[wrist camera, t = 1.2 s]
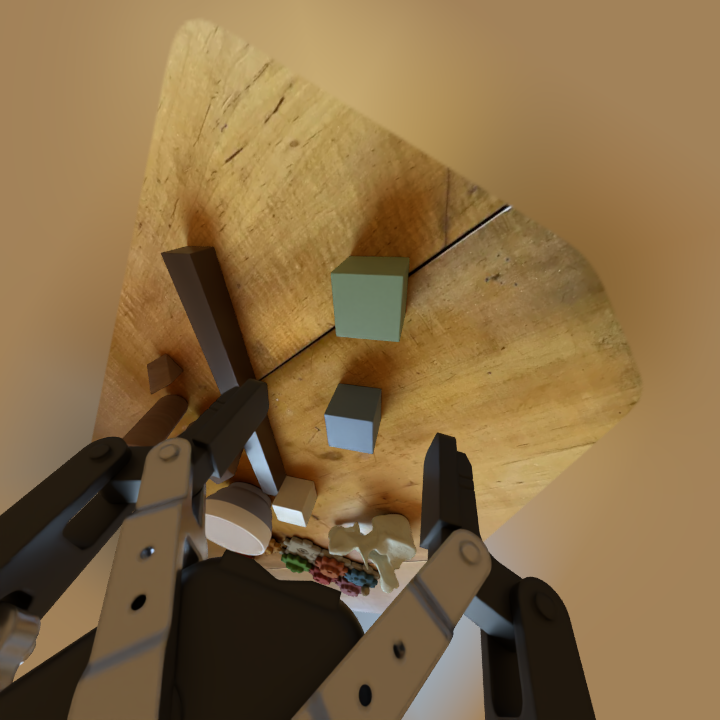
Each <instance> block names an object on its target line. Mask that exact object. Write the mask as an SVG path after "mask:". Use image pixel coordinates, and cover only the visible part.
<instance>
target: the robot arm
mask: <svg viewBox="0 0 720 720" xmlns="http://www.w3.org/2000/svg"><path fill="white" fill-rule="evenodd" d="M268 409H269V400H268V389H267V384H266V383H265V382H262V381H258V380H255V379H248V380H247V381H246V382H245V383H244V384H243V385H242V386H241V387H237V386H235V387H233V388H231V389H229V390H227V391H226V392H224V393H223V394H222V395H221V396H220V397H219V398H218V399H217V400H216V402H214V403H213V404H212V405H211V406H210V407H209V409H207V410H206V411H205V412H204V413H203V414H202V415H201V416H200V417H199V418H198V419H197V420H196V421H195V422H194V423H193V424H192V425H191V426H190V427H189V428H188V429H187V430H186V431H185V432H184V433H183V434H182V435H181V436H179V437H178V438H170V439H167V440H164V441H162V442H160V443H159V444H157V445H156V446H128V445H127V443H126V442H125V441H124V440H123V439H122V438H119V437H107V438H103V439H99V440H97V441H94V442H92V443H91V444H89V445H87V446H86V447H84V448H83V449H82V450H81V451H79V452H78V453H77V454H76V455H75V456H73V457H72V458H71V459H70V460H68V461H67V462H66V463H65V464H64V465H62V466H61V467H60V468H59V469H57V470H56V471H55V472H54V473H52V474H51V475H50V476H49V477H48V478H46V479H45V480H44V481H42V482H41V483H40V484H39V485H37V486H36V487H35V488H34V489H33V490H31V491H30V492H29V493H28V494H26V495H25V496H24V497H23V498H21V499H20V500H19V501H18V502H17V503H15V504H14V505H13V506H12V507H10V508H9V509H8V510H7V511H5V512H4V513H3V514H2V515H1V516H0V720H401V719H402V717H403V716H404V714H405V713H406V711H407V710H408V708H409V707H410V705H411V703H412V702H413V700H414V699H415V697H416V696H417V694H418V692H419V691H420V689H421V688H422V686H423V684H424V683H425V681H426V680H427V678H428V677H429V675H430V674H431V672H432V670H433V669H434V667H435V666H436V664H437V662H438V661H439V659H440V658H441V656H442V655H443V653H444V651H445V650H446V648H447V647H448V645H449V643H450V641H451V639H452V637H453V630H454V628H455V626H456V625H457V623H458V621H459V620H460V618H461V617H462V615H463V614H464V615H465V616H467V617H468V618H469V619H470V620H472V621H473V622H474V623H475V624H476V625H478V626H479V627H480V629H481V648H482V668H483V687H484V705H485V706H484V707H485V720H596V718H595V714H594V710H593V707H592V703H591V699H590V695H589V691H588V687H587V683H586V680H585V675H584V671H583V668H582V664H581V660H580V656H579V652H578V649H577V645H576V641H575V637H574V633H573V629H572V625H571V622H570V617H569V615H568V612H567V609H566V607H565V605H564V603H563V601H562V600H561V599H560V597H559V596H558V594H557V593H556V592H555V591H554V590H553V589H552V588H551V587H550V586H549V585H548V584H547V583H545V582H544V581H542V580H540V579H538V578H535V577H526V578H524V579H522V578H521V577H519V576H518V575H516V574H515V573H514V572H512V571H511V570H509V569H508V568H506V567H505V566H504V565H502V564H501V563H499V562H498V561H497V560H496V559H495V558H494V557H493V556H492V555H491V554H490V553H489V552H488V549H487V547H486V546H485V544H484V543H483V541H482V539H481V536H480V532H479V524H478V516H477V508H476V499H475V491H474V482H473V474H472V466H471V464H470V462H469V460H468V458H467V456H466V454H465V453H462V452H458V451H457V446H456V439H455V437H452V436H448V435H445V434H441V433H437V434H436V435H435V437H434V439H433V441H432V443H431V445H430V447H429V449H428V451H427V454H426V457H425V461H424V471H423V492H422V513H421V534H420V547H422V548H425V549H428V561H427V562H426V564H425V565H424V566H423V567H422V568H421V569H420V571H419V572H418V573H417V574H416V575H415V576H414V577H413V579H412V580H411V581H410V582H409V583H408V584H407V586H406V587H405V588H404V589H403V590H402V591H401V593H400V594H399V595H398V596H397V597H396V598H395V599H394V601H393V602H392V603H391V604H390V605H389V606H388V608H387V609H386V610H385V611H384V612H383V613H382V615H381V616H380V617H379V618H378V619H377V620H376V622H375V623H374V624H373V625H372V626H371V627H370V628H369V630H368V631H367V632H366V633H365V634H364V631H363V629H362V627H361V625H360V623H359V621H358V619H357V618H356V616H355V615H354V613H353V612H352V610H351V609H350V608H349V607H348V606H347V605H346V604H345V603H344V602H343V601H341V600H340V595H341V591H338V590H335V589H333V588H330V587H327V586H324V585H322V584H319V583H316V582H314V581H290V580H278V579H276V578H275V577H274V576H273V575H271V574H270V573H269V572H268V571H267V570H265V569H264V568H263V567H262V566H261V565H260V564H258V563H257V562H256V561H255V560H254V559H251V558H249V557H246V556H243V555H240V554H238V553H235V552H232V551H230V550H227V549H226V551H225V552H224V554H223V556H222V557H215V558H209V559H208V548H207V540H206V534H205V513H206V482H207V481H208V479H209V478H210V477H211V476H214V477H217V478H220V479H221V477H222V476H223V474H224V473H225V472H226V470H227V469H228V468H229V466H230V465H231V463H232V462H233V461H234V459H235V458H236V457H237V455H238V454H239V452H240V451H241V450H242V448H243V447H244V446H245V444H246V443H247V441H248V440H249V439H250V437H251V436H252V435H253V433H254V432H255V430H256V429H257V428H258V426H259V425H260V424H261V422H262V421H263V419H264V418H265V416H266V415H267V412H268ZM98 492H99V493H98ZM97 493H98V494H97ZM96 494H97V495H96ZM95 495H96V496H95ZM94 496H95V497H94ZM93 497H94V498H93ZM92 498H93V499H92ZM91 499H92V500H91ZM90 500H91V501H90ZM89 501H90V502H89ZM88 502H89V503H88ZM87 503H88V504H87ZM86 504H87V505H86ZM85 505H86V506H85ZM84 506H85V507H84ZM83 507H84V508H83ZM81 508H83V509H82V510H81ZM80 510H81V511H80ZM78 511H80V512H79V513H78ZM133 511H134V512H133ZM132 512H133V513H132ZM77 513H78V514H77ZM76 514H77V515H76ZM75 515H76V516H75ZM74 516H75V517H74ZM73 517H74V518H73ZM121 525H122V527H121V531H120V535H119V540H118V544H117V548H116V552H115V556H114V560H113V565H112V569H111V573H110V577H109V581H108V585H107V589H106V594H105V598H104V602H103V607H102V610H101V615H100V619H99V623H98V626H97V627H96V628H94V629H93V630H91V631H90V632H88V633H87V634H85V635H84V636H82V637H81V638H79V639H78V640H76V641H75V642H73V643H72V644H70V645H69V646H67V647H66V648H64V649H63V650H61V651H60V652H58V653H57V654H55V655H53V656H52V657H51V658H49V659H47V660H46V661H44V662H43V663H42V664H40V665H39V666H37V667H35V668H34V669H32V670H31V671H29V672H28V673H26V674H25V675H23V676H22V677H20V678H19V679H17V680H16V681H14V682H13V679H14V676H15V673H16V671H17V669H18V667H19V665H20V664H22V663H23V662H24V661H25V660H26V659H27V658H28V657H29V656H30V655H31V653H32V652H33V650H34V648H35V646H36V638H37V636H38V634H39V630H40V624H41V623H40V620H41V619H42V618H43V616H44V615H45V614H46V613H47V612H48V611H49V609H50V608H51V607H52V606H53V605H54V603H55V602H56V601H57V600H58V599H59V598H60V596H61V595H62V594H63V593H64V592H65V591H66V589H67V588H68V587H69V586H70V585H71V584H72V582H73V581H74V580H75V579H76V578H77V577H78V575H79V574H80V573H81V572H82V571H83V569H84V568H85V567H86V566H87V565H88V564H89V562H90V561H91V560H92V559H93V558H94V557H95V555H96V554H97V553H98V552H99V551H100V550H101V548H102V547H103V546H104V545H105V544H106V542H107V541H108V540H109V539H110V538H111V536H112V535H113V534H114V533H115V532H116V531H117V530H118V528H119V527H120V526H121Z"/></svg>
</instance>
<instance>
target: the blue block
mask: <svg viewBox="0 0 720 720" xmlns="http://www.w3.org/2000/svg"><path fill="white" fill-rule="evenodd" d="M324 415H325V422H326V429H327V436H328V443H329V446H331V447H337V448H342V449H348V450H353V451H359V452H364V453H370V454H373V452H374V448H375V443H376V439H377V434H378V430H379V425H380V421H381V389H378V388H370V387H363V386H355V385H347V384H338V386H337V388H336V390H335V393H334V395H333V397H332V399H331V401H330V403H329V405H328V407H327V409H326V412H325V414H324Z"/></svg>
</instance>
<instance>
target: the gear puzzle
mask: <svg viewBox="0 0 720 720" xmlns="http://www.w3.org/2000/svg"><path fill="white" fill-rule="evenodd" d="M284 544H285V545H287V546H288V547H287V548H286V549H284V548H281V547H280V546H281V544H279V543H276V542H275V539H270V541H269V544H268V546H267V548H266V550H265V552H264V553H263V554H267V555H269V554H272V553H276V552H279V554H282V558H281V561H283V562H284V563H286V567H287V568H288V569H290V570H291V571H292V572H298V573H302V572H303V571H308V572H309V573H311V574H312V575H313V579H314V580H315V581H316V582H319V583H321V584H325V585H326V584H328V585H329V584H330V582H335V584H336V585H338V586H340V589H341V591H342V592H343V593H344V594H347V595H349V596H353V597H354V596H356V597H357V596H358V594H362V595H363V596H367V595H368V594H369V591H370V589H369V587H371V588H375V585H377V583H378V581H377V580H378V579H379V578H380V574H379V572H377V571H374V570H373V568H372V567H370V566H368V570H367V568H366V566H365V564H364V565H360V564H358V563H356V562H351V561H350V560H349V559H347V558H344V557H343V556H341V555H333V554H330V553H329V551H328V550H326V549H322V550H321V548H320V547H318V546H316V545H313V542H311V541H309V540H306V539H304V540H301V539H299V538H297V537H292V538H291V540H290V539H288V538H286V539H285V541H284Z"/></svg>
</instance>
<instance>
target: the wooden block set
mask: <svg viewBox="0 0 720 720" xmlns="http://www.w3.org/2000/svg"><path fill="white" fill-rule="evenodd" d="M147 369H148V376H149V384H150V391H151V394H154V393H155V392H157V391H159V390H160V389H162V388H164V387H166V386H167V385H169V384H171V383H172V382H173V381H174V380H175V379H176V378H177V377H178V376H179V375H180V374H181V373H182V371H183V370H182V369H181V368H180V367H179V366H178V365H177V364H176V363H175V362H174V361H173V360H172V359H171V358H170V357H169V356H168V355H167V354H165V355H163V356H161V357H159V358H158V359H156V360H154V361H153V362H151V363H149V364H148V365H147ZM187 409H188V404H187V402H186V401H185V399H183V398H182V397H180V396H177V395H167V396H164V397H162V398H161V399H160V400H158V401H157V403H156V404H155V405H154V406H153V407H152V408H151V409H150V410H149V411H148V412H147V413H146V414H145V415H144V416H143V417H142V418H141V419H140V420H139V421H138V423H137V424H136V425H135V426H134V427H133V428H132V429H131V430H130V431H129V432H128V433H127V434H126V435H125V436H124V437H123V438H122V439H123V440H124V441H125V442H126V443H127V445H128V446H156V445H157V444H159V443H160V442H162V441H164V440H166V439H167V437H168V436H169V435H170V433H171V432H172V431H173V429H174V428H175V426H176V425H177V424H178V422H179V421H180V420H181V418H182V417H183V415H184V414H185V413H186V411H187ZM194 422H195V421H194ZM194 422H192V423H191V424H189V426H188V427H187V429H188V428H189V427H190V426H191V425H192V424H193V423H194ZM187 429H186V430H187ZM186 430H185V431H186ZM243 449H244V447H243V448H242V450H241V451H240V452H239V454H238V455H237V457H236V458H235V459H234V461H233V462H232V463H231V465H230V466H229V468H228V469H227V470H226V472H225V473H224V474H223V476H222V477H221V479H220V478H217V477H214V476H211V477H210V479H211V480H212V481H214V482H215V483H216V484H219V483H221V482H223V481H225V480H227V479H229V478H231V477H233V476H234V475H235V472H236V469H237V466H238V464H239V461H240V458H241V455H242V452H243Z"/></svg>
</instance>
